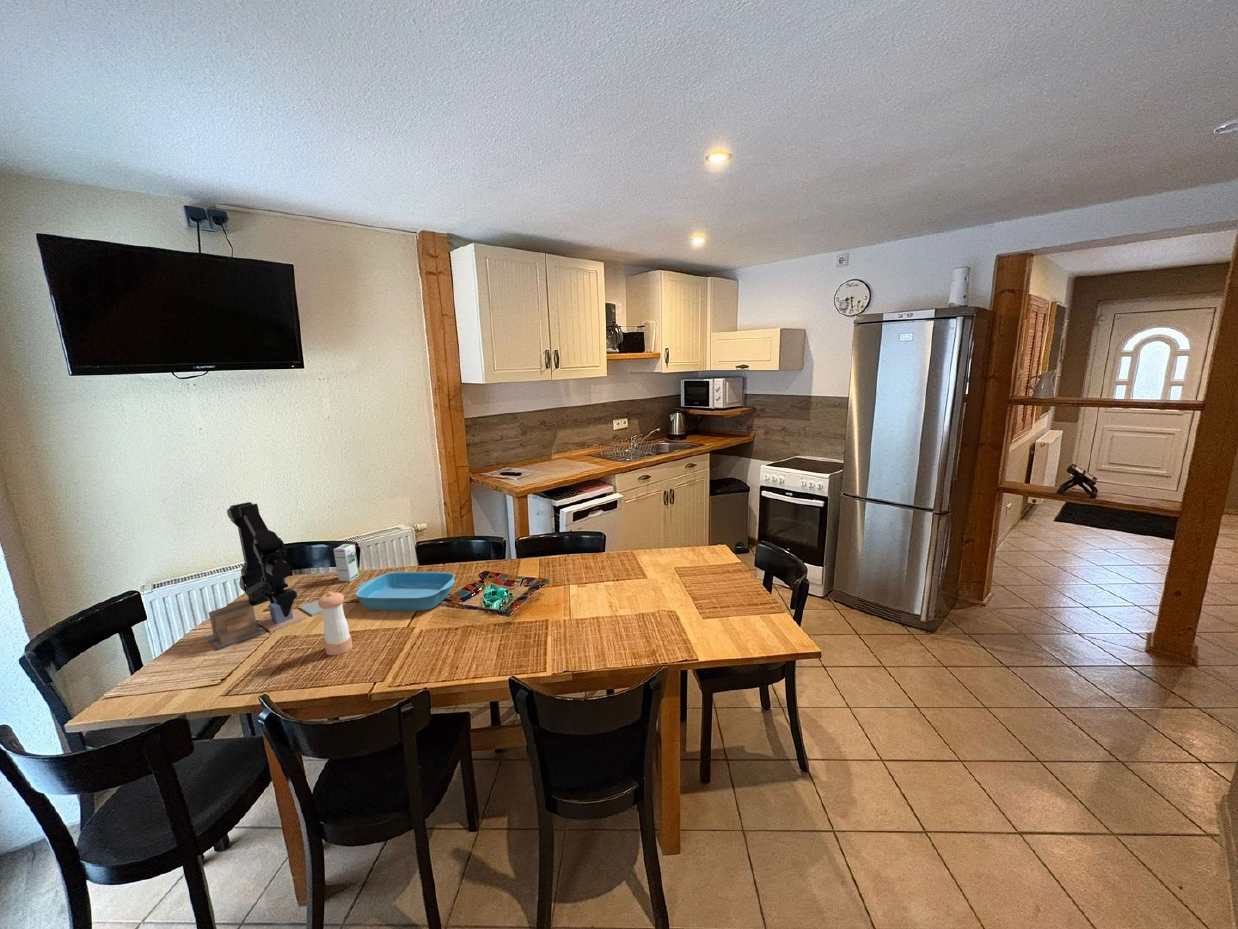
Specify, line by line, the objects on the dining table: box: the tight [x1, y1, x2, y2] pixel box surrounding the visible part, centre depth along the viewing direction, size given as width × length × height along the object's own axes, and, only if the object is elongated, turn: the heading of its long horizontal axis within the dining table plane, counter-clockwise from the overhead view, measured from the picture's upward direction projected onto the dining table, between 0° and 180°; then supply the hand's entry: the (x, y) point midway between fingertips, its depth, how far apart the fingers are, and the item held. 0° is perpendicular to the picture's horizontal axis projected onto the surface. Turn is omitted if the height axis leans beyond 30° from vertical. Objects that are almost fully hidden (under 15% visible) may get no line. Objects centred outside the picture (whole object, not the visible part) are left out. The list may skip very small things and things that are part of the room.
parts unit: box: [207, 599, 266, 651], centre depth 165 cm, size 11×13×10 cm
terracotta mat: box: [258, 608, 307, 633], centre depth 175 cm, size 11×11×1 cm
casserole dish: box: [354, 571, 456, 612], centre depth 186 cm, size 37×22×7 cm, turn 82°
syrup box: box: [333, 543, 361, 582], centre depth 208 cm, size 6×6×14 cm
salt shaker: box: [318, 591, 353, 656], centre depth 154 cm, size 7×7×19 cm
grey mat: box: [299, 599, 344, 617], centre depth 185 cm, size 11×11×1 cm
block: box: [268, 603, 293, 624], centre depth 175 cm, size 5×5×6 cm
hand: (281, 613), depth 175 cm, fingers open, 9 cm apart
